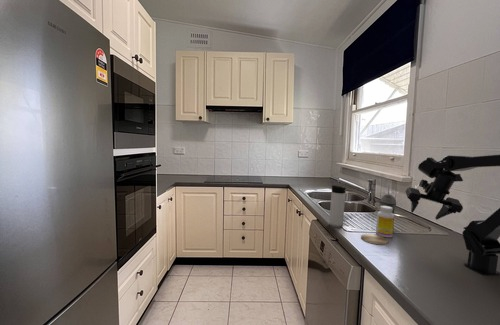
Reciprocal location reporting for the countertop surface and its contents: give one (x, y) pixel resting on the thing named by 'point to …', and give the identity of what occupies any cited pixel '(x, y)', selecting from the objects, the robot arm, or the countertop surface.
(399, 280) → the countertop surface
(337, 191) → the travel mug
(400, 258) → the countertop surface
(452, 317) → the countertop surface
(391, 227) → the supplement bottle
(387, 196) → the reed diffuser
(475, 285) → the countertop surface
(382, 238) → the coaster
